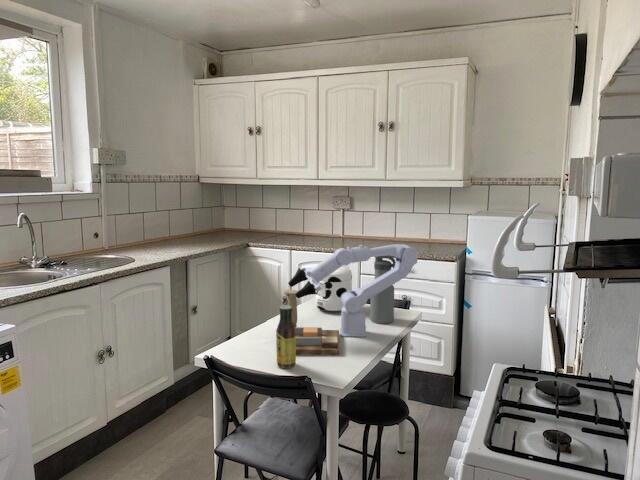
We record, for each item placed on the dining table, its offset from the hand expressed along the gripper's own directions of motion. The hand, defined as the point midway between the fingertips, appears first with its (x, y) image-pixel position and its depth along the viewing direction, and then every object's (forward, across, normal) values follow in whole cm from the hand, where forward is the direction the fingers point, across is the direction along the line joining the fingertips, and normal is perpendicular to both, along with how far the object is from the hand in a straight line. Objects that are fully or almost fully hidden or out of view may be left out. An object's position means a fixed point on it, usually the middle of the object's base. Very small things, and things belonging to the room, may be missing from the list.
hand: (292, 290), depth 179 cm
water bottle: (-23, +4, +39) cm, 45 cm away
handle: (+9, -3, +19) cm, 21 cm away
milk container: (-9, -18, +39) cm, 44 cm away
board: (+5, +16, +13) cm, 21 cm away
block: (+4, +15, +11) cm, 19 cm away
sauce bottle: (+15, +29, 0) cm, 32 cm away
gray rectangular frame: (+7, +14, +10) cm, 18 cm away
